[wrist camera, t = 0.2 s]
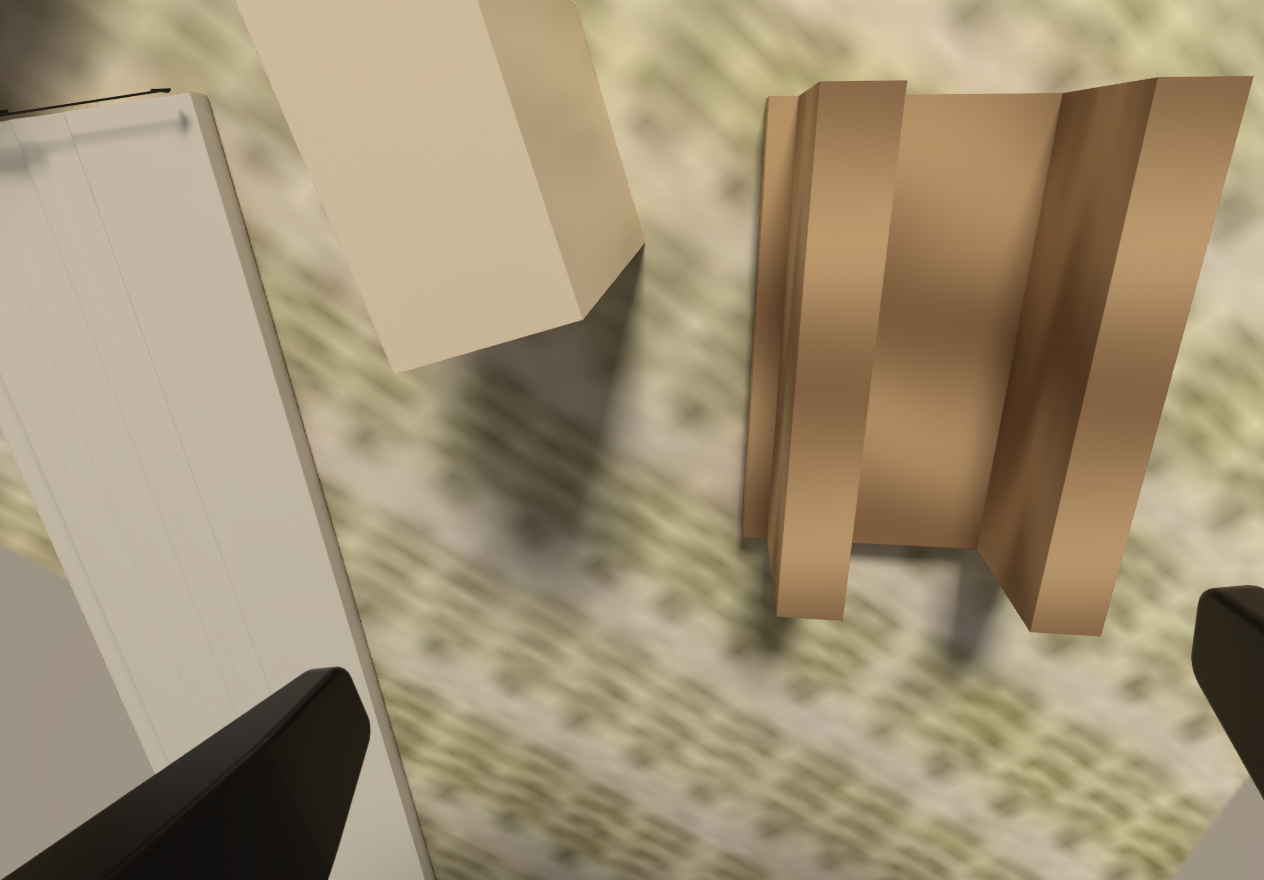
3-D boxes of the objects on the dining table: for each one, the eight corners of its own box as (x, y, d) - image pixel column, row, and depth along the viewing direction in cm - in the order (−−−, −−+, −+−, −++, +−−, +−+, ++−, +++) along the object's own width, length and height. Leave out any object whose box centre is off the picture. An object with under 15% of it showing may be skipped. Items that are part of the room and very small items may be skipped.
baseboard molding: (196, 882, 33) (450, 886, 32) (150, 947, 31) (425, 955, 29) (-135, 147, 22) (225, 92, 21) (-251, 146, 20) (152, 84, 18)
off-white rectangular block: (645, 242, 20) (582, 319, 11) (537, 275, 21) (394, 374, 12) (575, 5, 18) (430, -142, 9) (459, 49, 19) (216, -45, 10)
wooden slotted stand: (1045, 536, 22) (1131, 637, 18) (742, 521, 23) (748, 614, 18) (1145, 94, 18) (1296, 75, 13) (766, 98, 19) (782, 82, 14)
